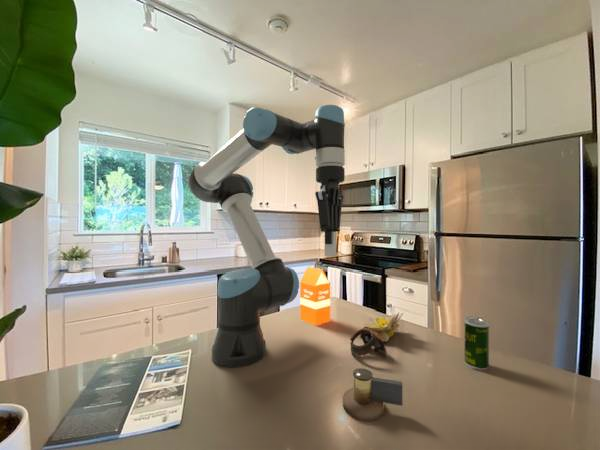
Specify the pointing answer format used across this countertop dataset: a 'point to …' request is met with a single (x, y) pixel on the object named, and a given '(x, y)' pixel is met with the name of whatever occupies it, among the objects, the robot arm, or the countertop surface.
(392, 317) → the decorative flower
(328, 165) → the robot arm
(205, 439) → the countertop surface
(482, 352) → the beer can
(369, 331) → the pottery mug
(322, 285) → the orange juice
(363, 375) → the knob
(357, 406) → the dial base
